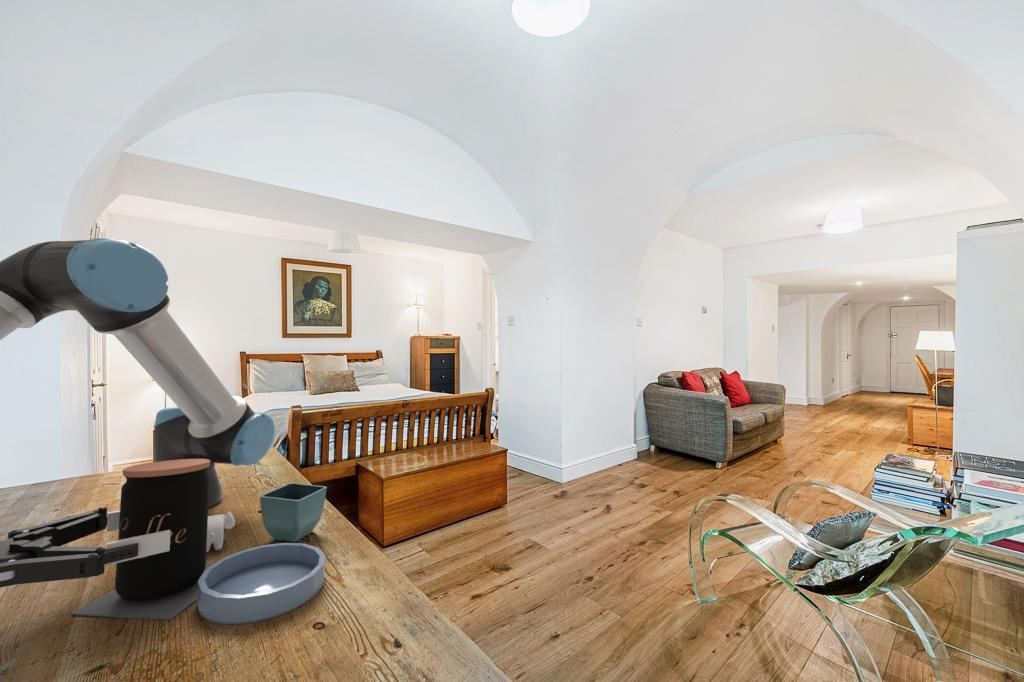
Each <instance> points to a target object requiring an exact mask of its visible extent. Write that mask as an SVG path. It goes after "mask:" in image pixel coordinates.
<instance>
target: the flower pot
mask: <svg viewBox="0 0 1024 682" xmlns="http://www.w3.org/2000/svg"><path fill="white" fill-rule="evenodd" d="M327 488H328V487H327V486H326V485H325V486H324V485H315V484H314V485H312V484H306V483H305V484H304V483H296V482H289V483H287V484H284V485H283V486H280V487H278V488H275V489H274V490H271V491H269V492H266V493H263V494H261V495H260V496H259V500H260V501H259V502H260V510H261V518H262V523H263V526H264V528H265V530H266V532H267V533H268V534H269V536H270V537H271V538H272V539H273V540H276V541H283V540H284V542H289V541H291V542H290V543H297V542H298V541H300V540H301V539H303V538H304V537H306V536H308V535H309V534H311V533H313V531H314V529H316V527H317V524H318V523H319V522H320V519H321V517H322V514H323V511H324V507H325V501H326V496H327V495H326V494H327V491H328V490H327Z"/></svg>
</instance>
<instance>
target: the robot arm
mask: <svg viewBox="0 0 1024 682" xmlns="http://www.w3.org/2000/svg"><path fill="white" fill-rule="evenodd" d="M168 281H169V276H168V273H167V270H166V268H165V266H164V264H163V263H162V261H160V259H159V258H158V257H157V256H156V255H155V254H154V253H152V252H151V251H150V250H148V249H147V248H145V247H143V246H141V245H139V244H137V243H135V242H131V241H127V240H121V239H112V238H103V237H101V238H91V239H82V240H54V241H51V240H50V241H44V242H39V243H35V244H32V245H30V246H28V247H25V248H23V249H21V250H18V251H17V252H15V253H13V254H11V255H9V256H8V257H6V258H4V259H2V260H0V341H2V340H3V339H4V338H6V337H8V336H9V335H10V334H11V333H13V332H15V331H16V330H17V329H30V328H32V327H34V326H35V325H37V324H38V323H40V322H41V321H42V320H44V319H45V318H48V317H50V316H53V315H55V314H58V313H61V312H62V313H63V312H64V311H77V312H78V313H79V315H80V316H81V317H82V318H83V319H85V321H86V322H87V323H88V324H89V325H90V326H91V327H92V328H93V329H94V331H96V332H97V333H99V334H107V335H113V336H115V338H116V339H117V340H118V342H120V344H121V345H122V346H123V347H124V348H125V350H127V351H128V352H129V354H130V355H131V356H132V357H133V358H134V359H135V361H137V363H138V364H139V365H140V367H142V368H143V369H144V370H145V372H147V374H148V375H149V376H150V377H151V379H153V380H154V382H155V383H156V384H157V385H158V386H159V387H160V388H161V390H162V391H163V392H164V393H165V394H166V395H167V396H168V397H169V399H170V400H171V401H172V402H173V403H174V404H175V405H176V406H174V407H167V408H163V409H160V410H158V411H157V413H156V415H155V422H154V426H153V428H154V431H153V434H154V435H153V457H152V460H153V462H160V461H169V460H180V459H208V460H210V466H209V467H208V468H207V469H206V472H207V473H208V474H209V476H210V482H209V504H208V508H210V507H213V506H215V505H218V503H220V502H222V499H223V487H222V486H221V482H220V478H219V475H218V473H217V470H216V464H223V465H232V466H235V467H240V466H252V465H254V464H256V463H259V462H260V461H261V460H263V459H264V457H265V456H266V455H267V454H268V453H269V451H270V449H271V447H272V445H273V442H274V437H275V434H276V429H275V424H274V423H275V422H274V421H273V420H274V419H272V417H271V416H270V415H268V414H267V413H263V412H255V411H253V409H252V408H251V407H250V405H249V404H248V403H247V401H246V400H245V399H244V398H243V397H241V396H238V395H232V394H231V393H230V391H228V389H227V388H226V387H225V386H224V384H223V383H222V381H221V380H220V379H219V377H218V376H217V374H216V373H215V372H214V371H213V369H212V368H211V366H210V365H209V364H208V363H207V362H206V360H205V359H204V358H203V356H202V354H201V353H200V352H199V351H198V349H197V348H196V347H195V346H194V345H193V343H192V342H191V340H190V339H189V338H188V337H187V335H186V334H185V333H184V331H183V330H182V329H181V327H180V326H179V325H178V323H177V322H176V321H175V319H174V318H173V317H172V315H171V314H170V313H169V311H168V308H169V305H170V303H171V298H170V297H169V296H168V294H167V293H168V291H169V285H168V284H167V282H168ZM119 518H120V509H119V510H114V511H108V506H101V507H98V509H97V508H96V509H94V510H91V511H86V512H83V513H78V514H75V515H71V516H67V517H65V518H64V517H63V518H61V519H57V520H53V521H52V520H51V521H49V522H45V523H41V524H37V525H35V526H34V525H33V526H29V527H23V528H19V529H12V530H10V531H8V532H7V539H3V540H0V588H5V587H10V586H14V585H16V586H17V585H26V584H27V585H28V584H34V583H45V582H55V581H56V582H57V581H65V580H67V581H68V580H74V579H75V580H76V579H78V580H79V579H85V578H87V579H88V578H92V577H98V576H101V575H103V574H104V573H105V566H110V565H114V564H115V565H116V563H119V562H124V561H128V560H132V559H137V558H141V557H145V556H150V555H154V554H158V553H163V552H167V551H170V530H166V531H161V532H156V533H151V534H146V535H141V536H137V537H132V538H127V539H122V540H118V539H117V540H114V541H113V540H112V541H108V542H106V546H77V545H75V546H71V545H70V546H65V545H67V544H69V543H72V542H74V541H77V540H81V539H83V538H86V537H88V536H91V535H93V534H96V533H98V532H101V531H103V530H106V532H111V531H116V530H118V531H119Z"/></svg>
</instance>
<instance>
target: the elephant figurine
mask: <svg viewBox="0 0 1024 682" xmlns="http://www.w3.org/2000/svg"><path fill="white" fill-rule="evenodd" d="M235 520H236V519H235V517H234V515H233V514H232V512H230V511H227V512H226V514H213V515H208V526H207V548H206V553H207V552H209V551H210V549H211V545H212V544H213V549H214V550H215V551H220V550H221V549H222V548H223V544H224V530H225V529H228V530H231V529H233V528H234V527H235V525H236V521H235Z"/></svg>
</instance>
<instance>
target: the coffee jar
mask: <svg viewBox="0 0 1024 682" xmlns="http://www.w3.org/2000/svg"><path fill="white" fill-rule="evenodd" d="M209 466H210V460H208V459H180V460H169V461H160V462H147V463H141V464H136V465H135V464H134V465H131V466H128V467H126V468H123V469H122V476H124V478H125V479H126V480H125V481H126V482H124V483H123V485H121V492H120V502H119V503H120V506H119V507H120V508H119V510H120V518H119V529H118V533H117V534H118V535H117V540H122V539H127V538H132V537H137V536H141V535H146V534H151V533H156V532H161V531H166V530H170V551H167V552H163V553H158V554H154V555H150V556H145V557H141V558H137V559H132V560H128V561H124V562H119V563H115V569H116V570H115V578H114V580H115V582H114V589H115V590H116V592H117V594H118V595H119V596H121V598H122V599H123V600H127V601H142V600H150V599H155V598H159V597H164V596H167V595H170V594H173V593H176V592H179V591H181V590H184V589H186V588H188V587H190V586H192V585H193V584H195V583H196V582H197V581H198V580H199V579H200V577H201V576H202V574H203V573H204V571H205V567H206V566H207V552H206V548H207V526H208V516H209V507H208V504H209V482H210V476H209V474H208V473H207V472H206V469H207V468H208V467H209Z"/></svg>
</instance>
